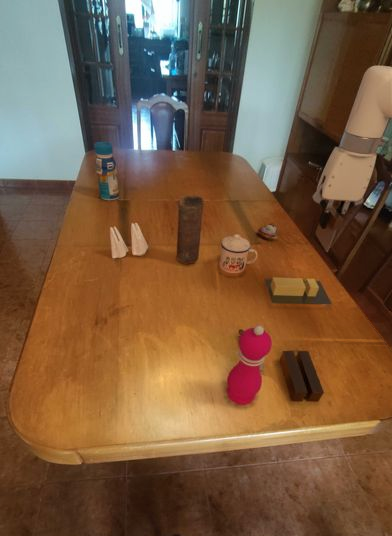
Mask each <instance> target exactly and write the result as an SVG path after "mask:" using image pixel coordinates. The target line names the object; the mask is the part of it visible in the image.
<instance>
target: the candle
mask: <svg viewBox="0 0 392 536" xmlns="http://www.w3.org/2000/svg"><path fill="white" fill-rule="evenodd" d="M203 210H204V199H203V198H202V197H200V196H199V195H198V196H197V195H193V194H192V195H186V196H184V197H181V198H179V200H178V217H177V218H178V219H177V235H176V236H177V237H176V239H177V240H176V254H175V255H176V260H178V261H179V262H180V263H181V264H193V263H194V264H195V263H196V262H197V261H198V260H199V255H200V254H199V253H200V244H201V232H202V231H201V230H202V222H203V221H202V220H203V212H204V211H203Z"/></svg>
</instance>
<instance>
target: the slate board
mask: <svg viewBox="0 0 392 536" xmlns="http://www.w3.org/2000/svg"><path fill="white" fill-rule="evenodd" d="M302 280H303V279H302ZM305 281H306V280H303V282H304V284H305ZM315 281H316V283H317V285H318V287H319V289H318V291H317V294H316V296H307V294H306V292H305V291H304V294H303V296H286V295H273V293H272V290H271V287H270V285H271V282H272V278H264V282H265V285H266V286H265V287H266V288H267V292H268V295H269V298H270V301H271V303H272V304H288V305H289V304H292V305H325V306H332V305H333V303H332V301H331V299H330V298H329V296H328V293H327V291H326V290H325V288H324V286H323V284H322V282H321V281H320V280H315Z"/></svg>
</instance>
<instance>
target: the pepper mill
mask: <svg viewBox="0 0 392 536" xmlns="http://www.w3.org/2000/svg"><path fill="white" fill-rule="evenodd" d="M239 336H240V335H239ZM272 346H273V342H272V337H271V335H270V334H269V332H267V331H266V330H265V329H264V327H263V325H260V324H259V325H256V326H254V327H250V328H247V329H246V330H244V332H243V333H242V334H241V336H240V338H239V339H238V348H239V350H238V359H239V360H238V363H237V364H236V365H234V366H233V367H232V368H231V369H230V370H229V372H228V375H227V378H226V384H227V388H226V395H227V397H228V399H229V400H230V401H231V402H233V403H234V404H236V405H239V406H240V405H241V406H246V405H250V404H252V403H253V402H254V400H255V398H256V395H258V393H259V392H260V390H261V388H262V383H263V377H262V374H261V371H260V364H263V363H264V362H265V358H266V356H267V355H268V354H269V353H270V352H271V350H272Z"/></svg>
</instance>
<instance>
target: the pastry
mask: <svg viewBox="0 0 392 536" xmlns="http://www.w3.org/2000/svg"><path fill="white" fill-rule="evenodd" d="M257 235H258V236H259V237H260V238H261V239H263V240H266V241H275V240H277V239H278V238H279V234H278V229H277V227H276V225H275V224H274V223H273V222H271V223H268V224H267V225H264V226H260V227H259V229H258V230H257Z"/></svg>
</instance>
